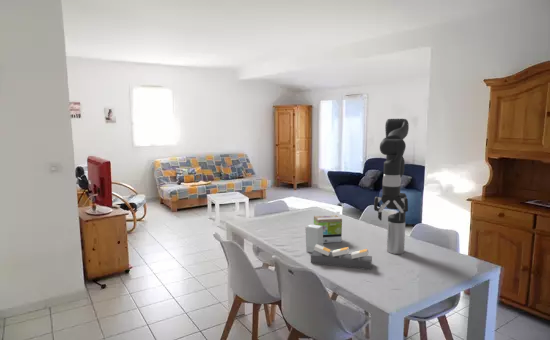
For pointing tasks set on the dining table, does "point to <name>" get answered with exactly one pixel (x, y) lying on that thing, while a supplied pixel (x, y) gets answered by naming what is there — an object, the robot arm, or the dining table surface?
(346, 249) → the block
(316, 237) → the skincare box
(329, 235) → the tea box
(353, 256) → the block
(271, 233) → the dining table surface
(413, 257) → the dining table surface
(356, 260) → the power strip
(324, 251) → the block
